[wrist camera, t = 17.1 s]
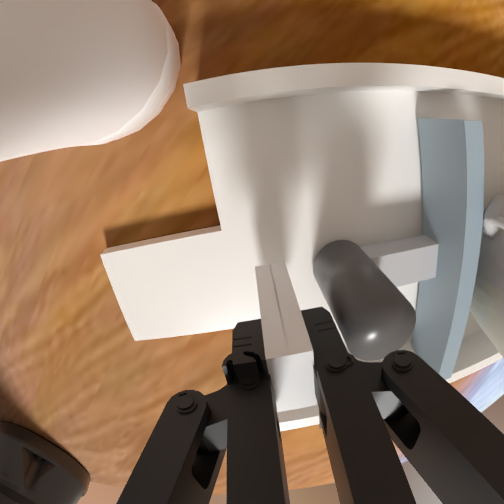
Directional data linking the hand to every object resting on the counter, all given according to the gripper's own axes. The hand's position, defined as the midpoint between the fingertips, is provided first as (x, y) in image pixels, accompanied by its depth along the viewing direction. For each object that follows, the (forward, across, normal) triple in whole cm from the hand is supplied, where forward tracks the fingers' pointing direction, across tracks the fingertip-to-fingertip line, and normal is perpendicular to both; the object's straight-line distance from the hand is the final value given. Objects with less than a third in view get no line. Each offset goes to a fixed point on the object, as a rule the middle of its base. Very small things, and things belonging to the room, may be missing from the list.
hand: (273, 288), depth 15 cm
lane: (+3, +7, 0) cm, 8 cm away
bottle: (+3, -6, +13) cm, 14 cm away
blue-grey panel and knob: (+1, +6, 0) cm, 6 cm away
